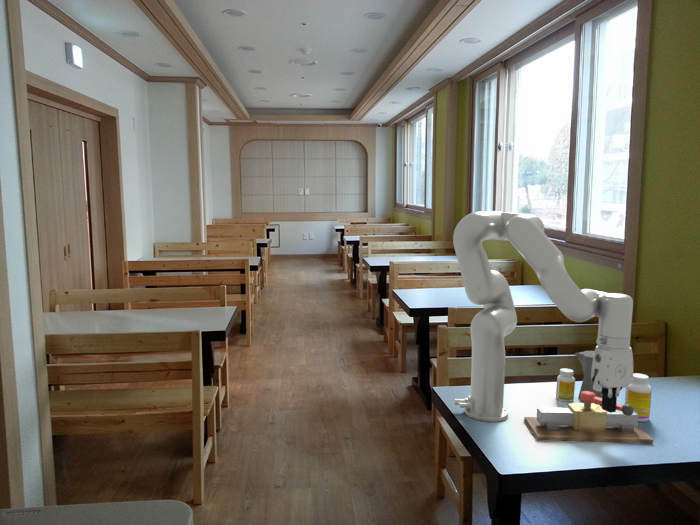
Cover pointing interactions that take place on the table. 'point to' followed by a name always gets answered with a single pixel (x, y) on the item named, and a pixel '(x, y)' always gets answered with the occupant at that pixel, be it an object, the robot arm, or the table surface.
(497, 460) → the table surface
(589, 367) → the coffeepot
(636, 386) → the supplement bottle
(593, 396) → the lever
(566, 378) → the supplement bottle
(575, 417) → the valve
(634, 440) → the plank
